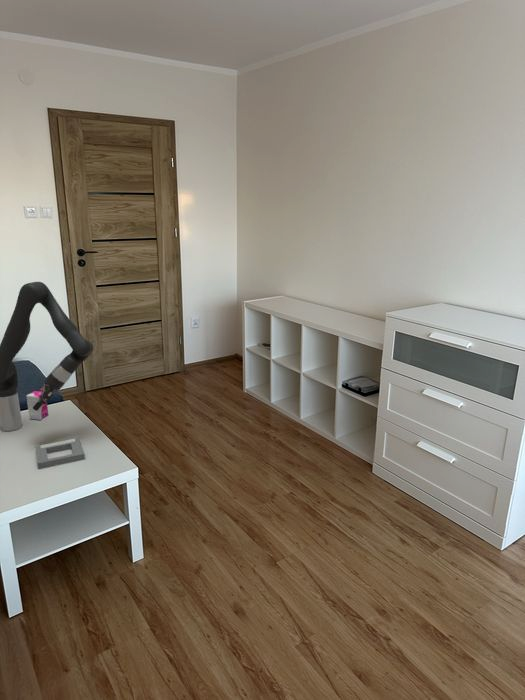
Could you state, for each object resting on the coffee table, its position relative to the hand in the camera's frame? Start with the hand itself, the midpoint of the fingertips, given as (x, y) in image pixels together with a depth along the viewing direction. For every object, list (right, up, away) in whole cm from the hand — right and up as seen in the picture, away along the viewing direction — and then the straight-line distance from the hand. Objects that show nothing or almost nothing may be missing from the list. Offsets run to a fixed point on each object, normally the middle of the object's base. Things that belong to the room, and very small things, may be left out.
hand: (34, 406), depth 216 cm
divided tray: (+14, -21, -5) cm, 25 cm away
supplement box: (+1, -6, +2) cm, 6 cm away
